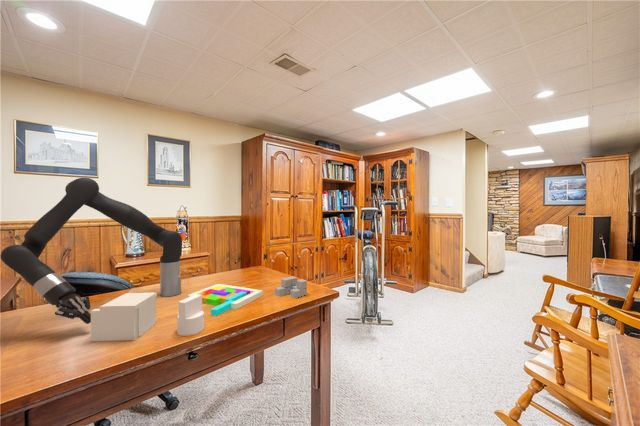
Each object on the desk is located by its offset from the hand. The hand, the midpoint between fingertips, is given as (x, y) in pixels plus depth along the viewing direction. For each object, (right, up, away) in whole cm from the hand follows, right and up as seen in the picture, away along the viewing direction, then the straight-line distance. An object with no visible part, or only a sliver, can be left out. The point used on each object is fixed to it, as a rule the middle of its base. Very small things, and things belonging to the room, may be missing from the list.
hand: (91, 321), depth 97 cm
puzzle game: (+34, -4, +34) cm, 48 cm away
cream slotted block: (+12, -4, +1) cm, 13 cm away
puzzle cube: (+68, -4, +43) cm, 81 cm away
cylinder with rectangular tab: (+35, -5, +3) cm, 35 cm away
